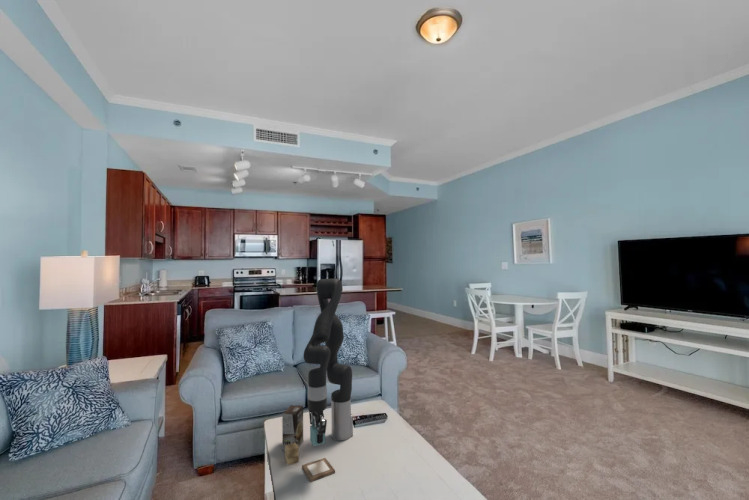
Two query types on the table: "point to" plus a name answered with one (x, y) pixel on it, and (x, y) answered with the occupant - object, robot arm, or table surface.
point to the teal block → (315, 436)
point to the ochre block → (291, 453)
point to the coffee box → (292, 426)
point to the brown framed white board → (318, 469)
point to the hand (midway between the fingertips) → (317, 439)
